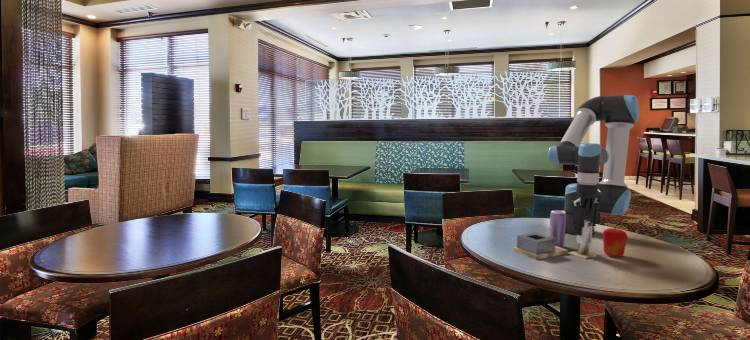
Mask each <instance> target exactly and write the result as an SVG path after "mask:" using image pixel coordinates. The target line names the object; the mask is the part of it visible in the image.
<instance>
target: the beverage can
mask: <svg viewBox="0 0 750 340" xmlns="http://www.w3.org/2000/svg"><path fill="white" fill-rule="evenodd" d="M565 225H566V212H565V211H564V210H561V209H560V210H558V209H554V210H551V211H550V215H549V233H548V234H549V236H548V237H551V238H554V239H555V246H557V247H560V248H563V249H564V247H565V245H566V244H565V243H566V233H565Z"/></svg>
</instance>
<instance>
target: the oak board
mask: <svg viewBox="0 0 750 340" xmlns="http://www.w3.org/2000/svg"><path fill="white" fill-rule="evenodd" d="M512 251H513V252H515V253H517V254H520V255H524V256H525V257H528V258H531V259H533V260H541V259H545V258H547V259H548V258H552V257H557V256H562V255H567V254H569V252H568V251H569V250H568V249H566V248H564V247H563V248H560V247H557V246H555V251H553V252H548V253H543V254H537V255H536V254H533V253H530V252H528V251H525V250H522V249H519V248H517V246H513V247H512Z"/></svg>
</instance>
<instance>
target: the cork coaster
mask: <svg viewBox="0 0 750 340" xmlns="http://www.w3.org/2000/svg"><path fill="white" fill-rule="evenodd" d="M568 254H570V255H572V256H575V257H578V258H581V259H584V260H586V259H591V258H592V259H593V258H597V257H598V254H595V253H593V252H590V251H589V253H588V254H583V253H579V252H578V250H573V251H570V252H568Z"/></svg>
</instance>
